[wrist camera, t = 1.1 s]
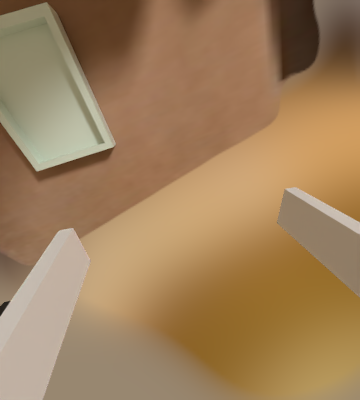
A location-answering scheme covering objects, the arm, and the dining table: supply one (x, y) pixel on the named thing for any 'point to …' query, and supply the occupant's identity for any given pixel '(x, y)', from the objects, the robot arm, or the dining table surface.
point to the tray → (46, 91)
